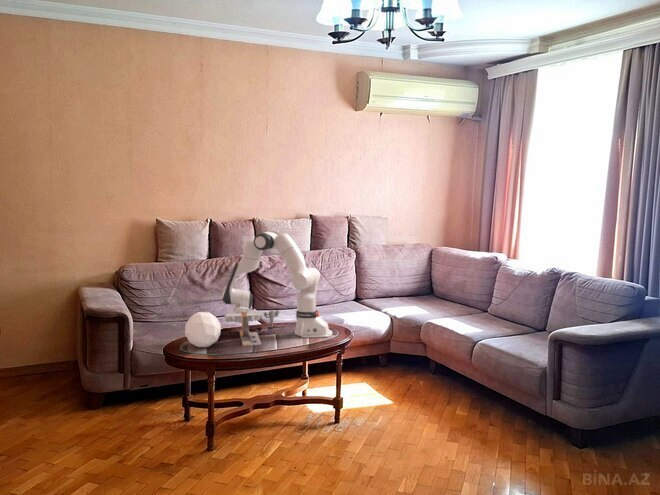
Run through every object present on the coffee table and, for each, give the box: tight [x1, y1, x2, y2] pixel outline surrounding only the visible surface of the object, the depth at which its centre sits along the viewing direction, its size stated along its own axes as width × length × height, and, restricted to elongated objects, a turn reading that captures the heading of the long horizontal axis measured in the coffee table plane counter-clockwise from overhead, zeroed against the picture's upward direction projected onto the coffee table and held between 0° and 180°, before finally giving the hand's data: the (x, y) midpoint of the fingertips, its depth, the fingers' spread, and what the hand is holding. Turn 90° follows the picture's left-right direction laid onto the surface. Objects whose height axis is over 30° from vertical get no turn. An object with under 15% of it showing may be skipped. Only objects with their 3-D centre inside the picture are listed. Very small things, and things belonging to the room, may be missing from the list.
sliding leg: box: [239, 312, 247, 337], centre depth 335 cm, size 5×5×13 cm
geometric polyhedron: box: [184, 311, 222, 348], centre depth 321 cm, size 19×20×20 cm
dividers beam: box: [239, 316, 251, 347], centre depth 333 cm, size 23×5×16 cm, turn 13°
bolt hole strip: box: [249, 331, 262, 346], centre depth 335 cm, size 23×6×1 cm, turn 13°
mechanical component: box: [263, 309, 280, 328], centre depth 363 cm, size 3×10×10 cm, turn 127°
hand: (243, 320), depth 339 cm, fingers open, 8 cm apart
